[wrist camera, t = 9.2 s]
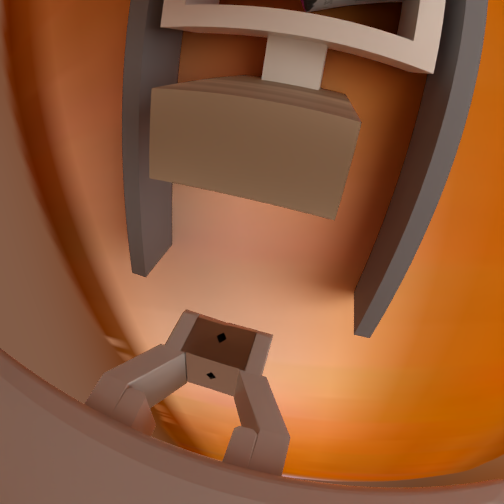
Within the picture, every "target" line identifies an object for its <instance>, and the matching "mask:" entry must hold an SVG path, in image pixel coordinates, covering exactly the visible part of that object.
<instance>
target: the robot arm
mask: <svg viewBox="0 0 504 504" xmlns="http://www.w3.org/2000/svg"><path fill="white" fill-rule="evenodd" d="M257 331H258V330H254V329H250V328H247V327H243V326H239V325H235V324H232V323H226V322H223V321H220V320H217V319H214V318H211V317H208V316H205V315H202V314H199V313H196V312H193V311H190V310H185V311H184V312H183V313H182V315H181V317H180V319H179V321H178V322H177V324H176V326H175V328H174V329H173V331H172V333H171V335H170V336H169V338H168V340H167V342H166V344H165V345H162V344H160V345H158V346H156V347H154V348H152V349H150V350H148V351H146V352H144V353H142V354H140V355H138V356H136V357H134V358H133V359H131V360H129V361H127V362H125V363H123V364H121V365H119V366H117V367H115V368H113V369H111V370H109V371H107V372H105V373H104V374H103V375H102V377H101V378H100V380H99V381H98V383H97V385H96V386H95V388H94V390H93V391H92V393H91V394H90V396H89V398H88V399H87V401H86V402H85V404H83V403H82V402H80V401H78V400H76V399H75V398H73V397H71V396H69V395H68V394H66V393H64V392H63V391H61V390H59V389H58V388H56V387H55V386H53V385H51V384H50V383H48V382H47V381H45V380H44V379H42V378H41V377H39V376H38V375H36V374H35V373H33V372H32V371H31V370H29V369H28V368H26V367H25V366H23V365H22V364H21V363H19V362H18V361H17V360H15V359H14V358H13V357H11V356H10V355H9V354H7V353H6V352H5V351H3V350H2V349H1V348H0V504H504V480H502V479H494V480H488V481H482V482H476V483H468V484H460V485H450V486H437V487H418V488H378V487H359V486H347V485H337V484H328V483H320V482H313V481H306V480H300V479H294V478H289V477H283V476H281V475H282V471H283V467H284V463H285V458H286V454H287V450H288V445H289V441H290V435H289V433H288V431H287V428H286V426H285V423H284V421H283V418H282V416H281V413H280V411H279V408H278V406H277V403H276V401H275V398H274V396H273V393H272V391H271V388H270V385H269V383H268V380H267V378H266V377H264V376H262V374H263V370H264V366H265V363H266V359H267V356H268V352H269V348H270V345H271V341H272V337H273V335H272V334H268V333H264V332H261V331H258V332H257ZM187 382H190V383H194V384H197V385H200V386H203V387H207V388H210V389H213V390H216V391H219V392H222V393H225V394H228V395H231V396H234V400H235V404H236V407H237V411H238V415H239V418H240V422H241V425H242V426H238V427H236V428H234V431H233V433H232V436H231V439H230V442H229V445H228V448H227V450H226V453H225V456H224V459H223V461H218V460H215V459H212V458H208V457H205V456H202V455H199V454H196V453H193V452H190V451H188V450H185V449H182V448H179V447H176V446H174V445H171V444H169V443H166V442H163V441H161V440H158V439H156V438H154V437H151V435H152V433H153V431H154V428H155V426H156V424H155V421H154V419H153V416H152V413H151V411H150V408H151V407H152V406H154V405H155V404H157V403H158V402H160V401H161V400H163V399H164V398H166V397H167V396H169V395H170V394H171V393H173V392H174V391H176V390H177V389H179V388H180V387H181V386H183V385H184V384H186V383H187Z"/></svg>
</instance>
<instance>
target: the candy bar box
mask: <svg viewBox="0 0 504 504" xmlns="http://www.w3.org/2000/svg"><path fill="white" fill-rule="evenodd" d="M403 1H405V0H301V3H302V6H303V8H304V11H305V12H313V11H319V10H325V9H332V8H338V7H345V6H352V5H362V4H374V3H394V2H403Z"/></svg>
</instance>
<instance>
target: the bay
mask: <svg viewBox="0 0 504 504" xmlns="http://www.w3.org/2000/svg"><path fill="white" fill-rule="evenodd" d="M163 4H164V0H131V2H130V9H129V17H128V26H127V35H126V46H125V58H124V74H123V97H122V156H123V180H124V197H125V210H126V222H127V232H128V242H129V251H130V259H131V266H132V273H135V274H138V275H141V276H144V277H146V276H147V275H148V274H149V273H150V271H151V270H152V269H153V268H154V266H155V265H156V264H157V263H158V261H159V260H160V259H161V258H162V256H163V255H164V254H165V253H166V252H167V250H168V249H169V248H170V247H171V245H172V183H171V182H166V181H161V180H156V179H151V178H149V142H150V109H151V90H152V88H155V87H160V86H165V85H171V84H177V82H178V71H179V61H180V51H181V43H182V34H183V30H176V29H170V28H163V27H160V26H161V18H162V11H163ZM487 6H488V0H446V2H445V10H444V18H443V24H442V31H441V37H440V43H439V48H438V54H437V59H436V64H435V69H434V73H433V74H428V75H427V80H426V84H425V88H424V93H423V97H422V101H421V105H420V109H419V113H418V116H417V120H416V124H415V127H414V131H413V134H412V138H411V141H410V145H409V148H408V151H407V155H406V158H405V161H404V164H403V167H402V170H401V173H400V176H399V179H398V182H397V185H396V188H395V191H394V194H393V197H392V200H391V202H390V205H389V208H388V211H387V213H386V216H385V219H384V221H383V224H382V227H381V229H380V232H379V234H378V237H377V239H376V242H375V244H374V247H373V249H372V252H371V254H370V257H369V259H368V261H367V264H366V266H365V269H364V271H363V273H362V276H361V278H360V280H359V282H358V285H357V287H356V289H355V291H354V335H358V336H363V337H367V338H370V337H371V335H372V333H373V332H374V330H375V328H376V327H377V325H378V323H379V322H380V320H381V318H382V316H383V315H384V313H385V311H386V309H387V308H388V306H389V304H390V302H391V300H392V299H393V297H394V295H395V293H396V291H397V289H398V287H399V286H400V284H401V282H402V280H403V278H404V276H405V274H406V272H407V270H408V268H409V266H410V264H411V262H412V260H413V258H414V256H415V254H416V252H417V250H418V247H419V245H420V243H421V241H422V239H423V237H424V234H425V232H426V230H427V228H428V225H429V223H430V221H431V218H432V216H433V214H434V211H435V209H436V206H437V204H438V201H439V199H440V196H441V194H442V191H443V189H444V186H445V183H446V181H447V178H448V175H449V172H450V170H451V167H452V164H453V161H454V158H455V155H456V152H457V149H458V146H459V143H460V140H461V136H462V133H463V130H464V126H465V123H466V119H467V115H468V112H469V108H470V104H471V100H472V96H473V92H474V88H475V83H476V78H477V74H478V69H479V64H480V58H481V52H482V46H483V40H484V33H485V25H486V16H487Z"/></svg>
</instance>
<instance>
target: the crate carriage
mask: <svg viewBox="0 0 504 504" xmlns="http://www.w3.org/2000/svg"><path fill="white" fill-rule="evenodd" d="M219 2H220V0H164V4H163V11H162V18H161V26H160V27H163V28H170V29H176V30H183V31H189V32H194V33H215V34H232V35H244V36H255V37H264V38H268V40H267V47H266V53H265V59H264V66H263V72H262V77H257V76H250V75H238V76H228V77H218V78H210V79H203V80H195V81H189V82H183V83H177V84H171V85H165V86H160V87H155V88H152V90H151V109H150V142H149V178H151V179H156V180H161V181H166V182H171V183H176V184H181V185H186V186H191V187H196V188H201V189H205V190H210V191H215V192H219V193H224V194H228V195H233V196H237V197H242V198H246V199H250V200H255V201H259V202H263V203H267V204H272V205H276V206H280V207H284V208H288V209H292V210H296V211H300V212H304V213H308V214H312V215H316V216H320V217H323V218H327V219H331V220H335V218H336V214H337V211H338V208H339V204H340V201H341V197H342V194H343V190H344V187H345V183H346V180H347V176H348V173H349V169H350V165H351V162H352V158H353V154H354V150H355V147H356V143H357V139H358V135H359V131H360V127H361V123H362V122H361V120H360V119H359V117H358V115H357V113H356V112H355V110H354V108H353V106H352V105H351V103H350V101H349V100H348V98H347V96H346V95H345V94H342V93H338V92H334V91H330V90H326V89H321V88H320V86H321V81H322V76H323V71H324V65H325V60H326V55H327V49H333V50H337V51H341V52H345V53H349V54H353V55H357V56H360V57H364V58H368V59H371V60H374V61H378V62H381V63H384V64H387V65H390V66H393V67H396V68H399V69H402V70H405V71H408V72H411V73H427V74H433V73H434V69H435V64H436V59H437V54H438V48H439V43H440V37H441V31H442V24H443V18H444V10H445V2H446V0H405V1H403V2H402V8H401V15H400V21H399V27H398V33H397V35H395V34H392V33H389V32H385V31H382V30H379V29H376V28H372V27H369V26H365V25H361V24H358V23H354V22H350V21H346V20H341V19H337V18H332V17H327V16H322V15H317V14H312V13H306V12H300V11H293V10H286V9H278V8H269V7H258V6H244V5H219Z"/></svg>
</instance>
